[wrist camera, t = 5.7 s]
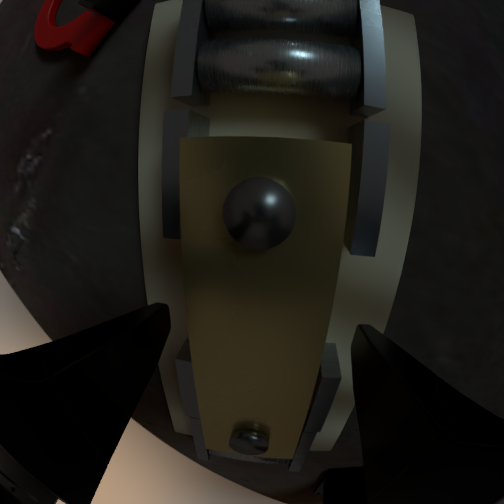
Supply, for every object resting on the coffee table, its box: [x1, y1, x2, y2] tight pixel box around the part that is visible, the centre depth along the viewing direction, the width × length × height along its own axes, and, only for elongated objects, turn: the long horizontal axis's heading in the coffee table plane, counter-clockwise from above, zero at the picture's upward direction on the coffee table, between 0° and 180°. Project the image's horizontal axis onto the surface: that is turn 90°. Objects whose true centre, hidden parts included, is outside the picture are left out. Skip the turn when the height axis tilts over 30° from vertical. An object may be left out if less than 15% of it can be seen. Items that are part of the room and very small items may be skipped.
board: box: [138, 0, 422, 451], centre depth 12 cm, size 25×11×1 cm, turn 177°
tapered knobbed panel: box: [179, 136, 352, 459], centre depth 9 cm, size 11×4×5 cm, turn 178°
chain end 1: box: [162, 0, 391, 257], centre depth 8 cm, size 10×7×2 cm
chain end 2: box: [175, 335, 342, 472], centre depth 13 cm, size 10×7×2 cm
